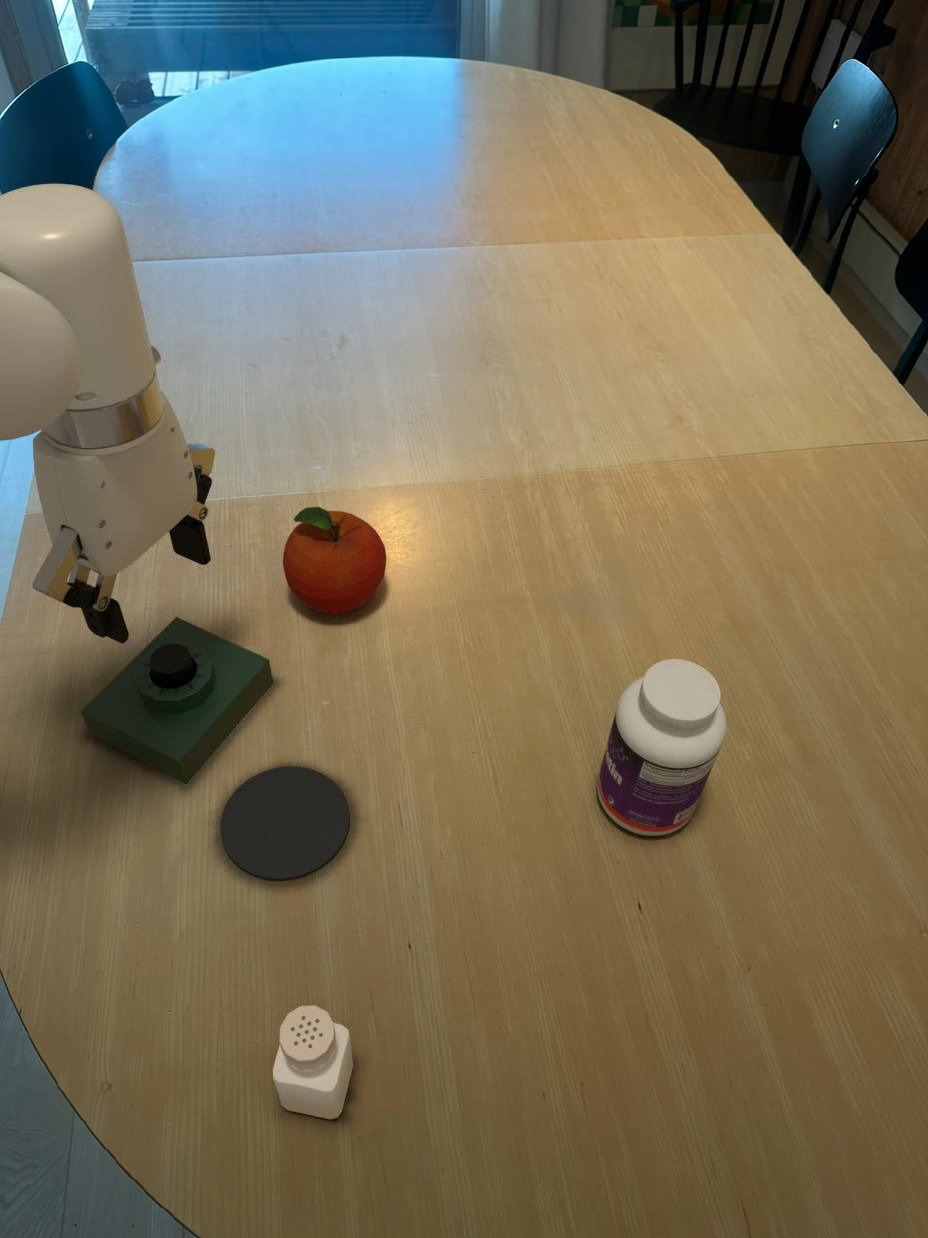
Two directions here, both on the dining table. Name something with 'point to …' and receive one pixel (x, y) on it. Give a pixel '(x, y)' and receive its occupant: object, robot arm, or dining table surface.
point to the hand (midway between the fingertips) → (153, 593)
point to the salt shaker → (313, 1063)
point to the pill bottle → (662, 748)
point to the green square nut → (179, 702)
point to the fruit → (333, 560)
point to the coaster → (285, 823)
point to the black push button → (172, 665)
